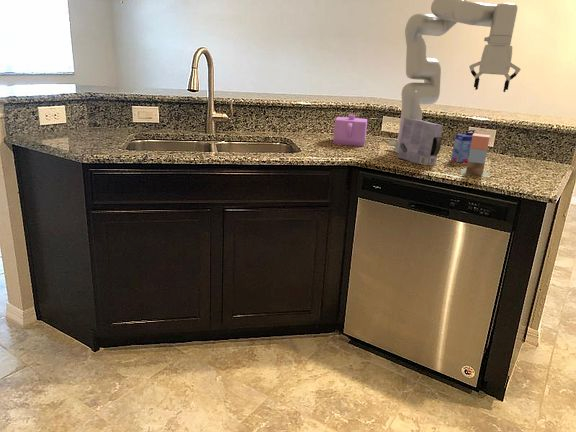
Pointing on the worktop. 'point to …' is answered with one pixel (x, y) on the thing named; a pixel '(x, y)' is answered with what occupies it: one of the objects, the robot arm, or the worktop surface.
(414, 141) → the cake pan box
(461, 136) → the ink cartridge box
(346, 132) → the teapot
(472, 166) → the block walnut
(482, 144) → the block red
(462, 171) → the baseplate
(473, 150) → the block blue
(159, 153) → the worktop surface
